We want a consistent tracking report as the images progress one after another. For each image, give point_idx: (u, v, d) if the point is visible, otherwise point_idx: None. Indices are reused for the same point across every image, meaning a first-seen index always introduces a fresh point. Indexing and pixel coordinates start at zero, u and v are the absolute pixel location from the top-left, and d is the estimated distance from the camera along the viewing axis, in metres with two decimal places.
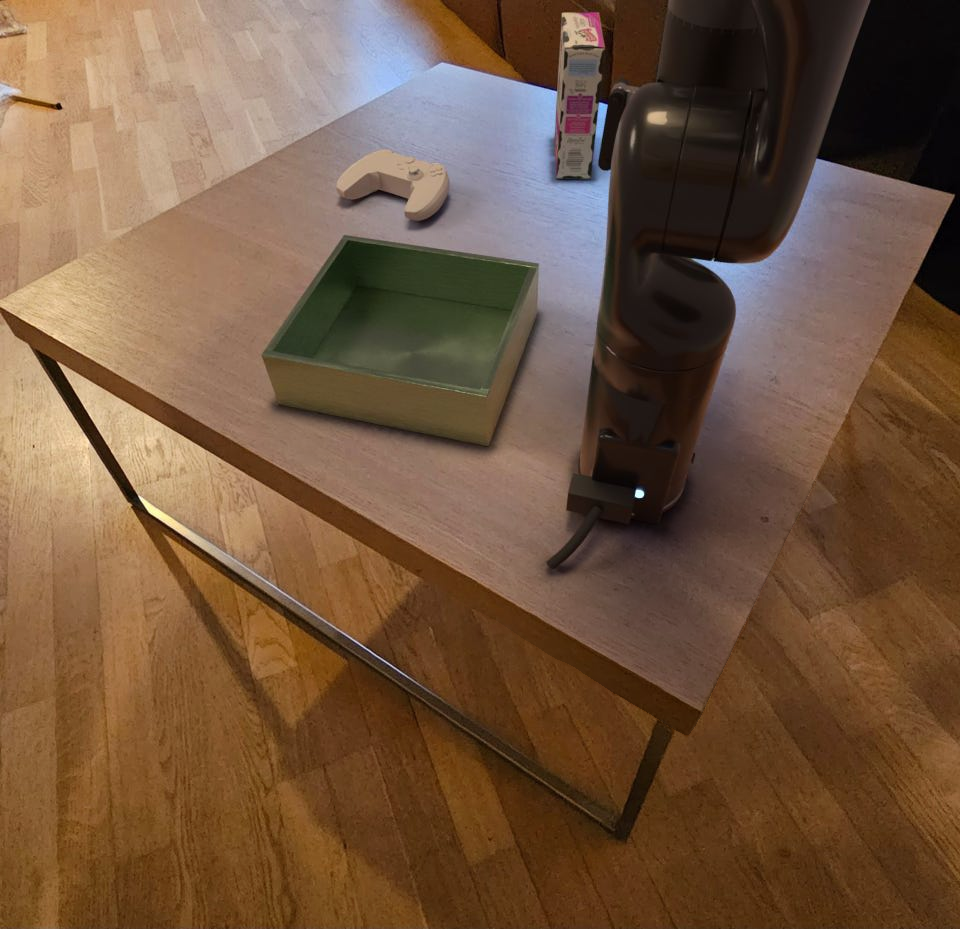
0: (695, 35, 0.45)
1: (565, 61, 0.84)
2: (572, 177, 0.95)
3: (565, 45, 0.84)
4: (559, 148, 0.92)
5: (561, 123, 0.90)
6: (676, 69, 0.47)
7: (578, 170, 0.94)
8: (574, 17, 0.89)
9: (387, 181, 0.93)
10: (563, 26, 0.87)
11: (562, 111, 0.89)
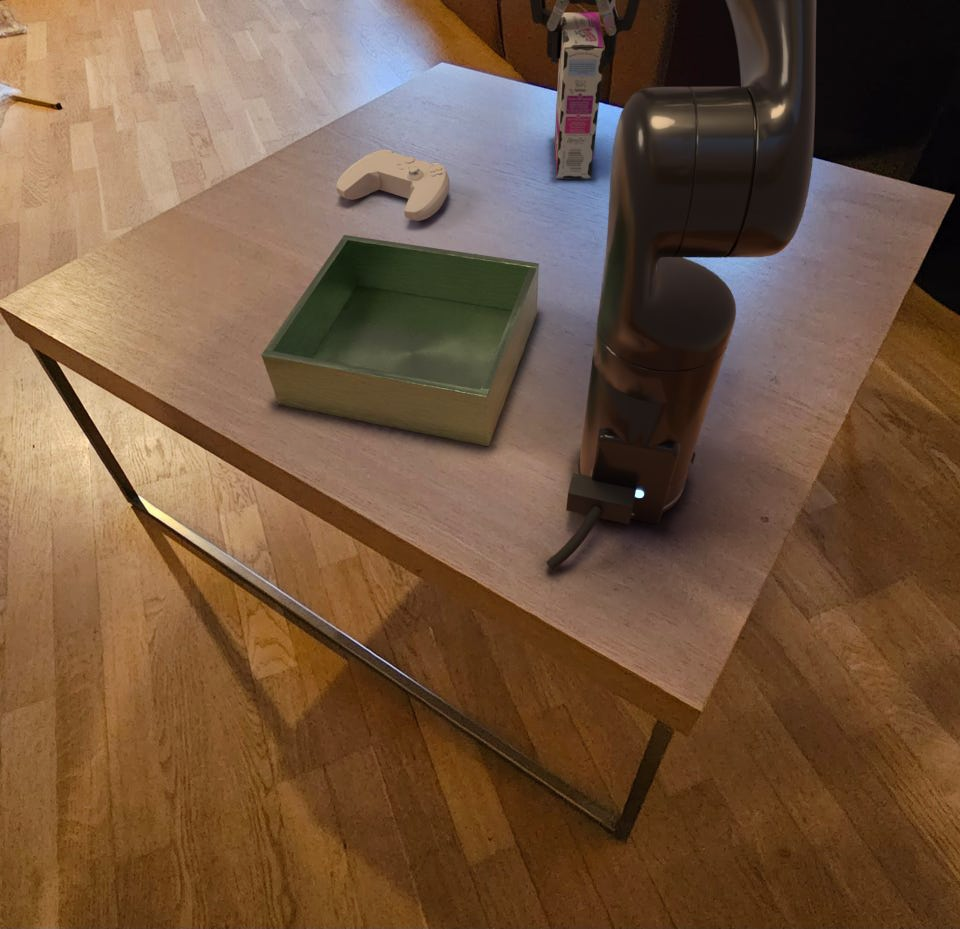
0: None
1: (565, 61, 0.84)
2: (572, 177, 0.95)
3: (565, 45, 0.84)
4: (559, 148, 0.92)
5: (561, 123, 0.90)
6: None
7: (578, 170, 0.94)
8: (574, 17, 0.89)
9: (387, 181, 0.93)
10: (563, 26, 0.87)
11: (562, 111, 0.89)
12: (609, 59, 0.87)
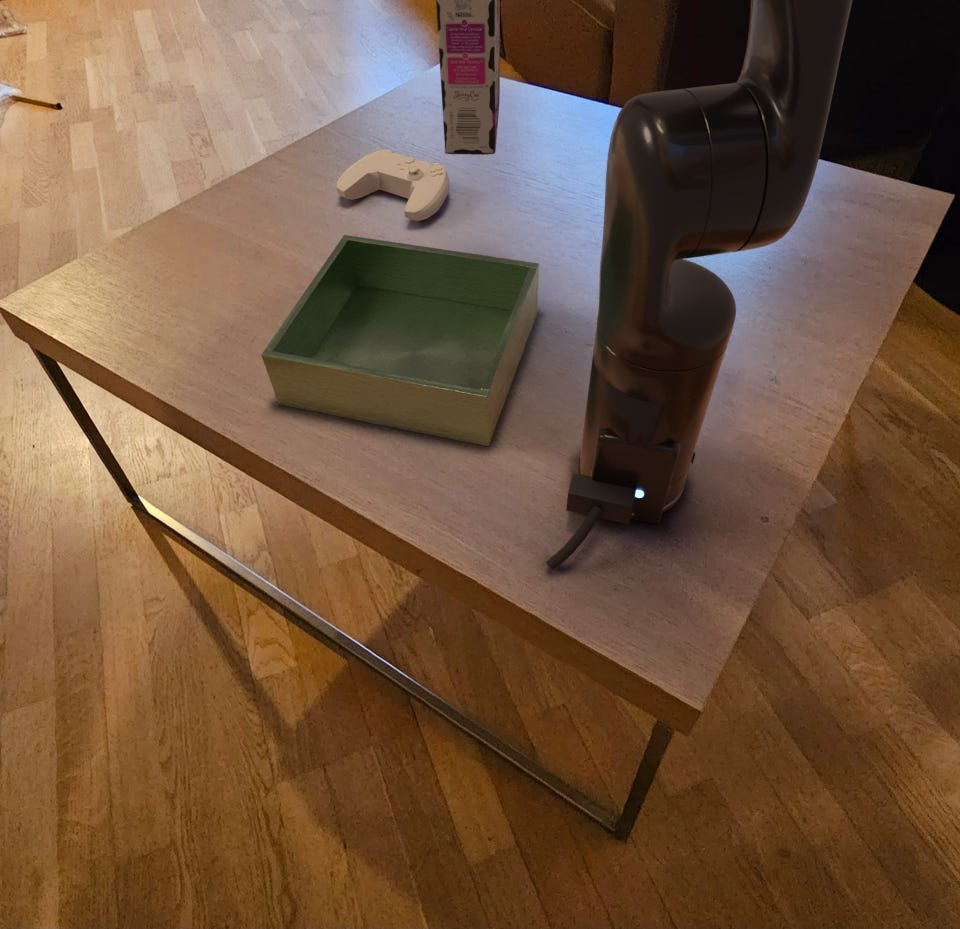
0: None
1: None
2: (468, 152, 0.66)
3: None
4: (443, 107, 0.63)
5: (442, 68, 0.60)
6: None
7: (474, 140, 0.65)
8: None
9: (387, 181, 0.93)
10: None
11: (441, 49, 0.59)
12: None
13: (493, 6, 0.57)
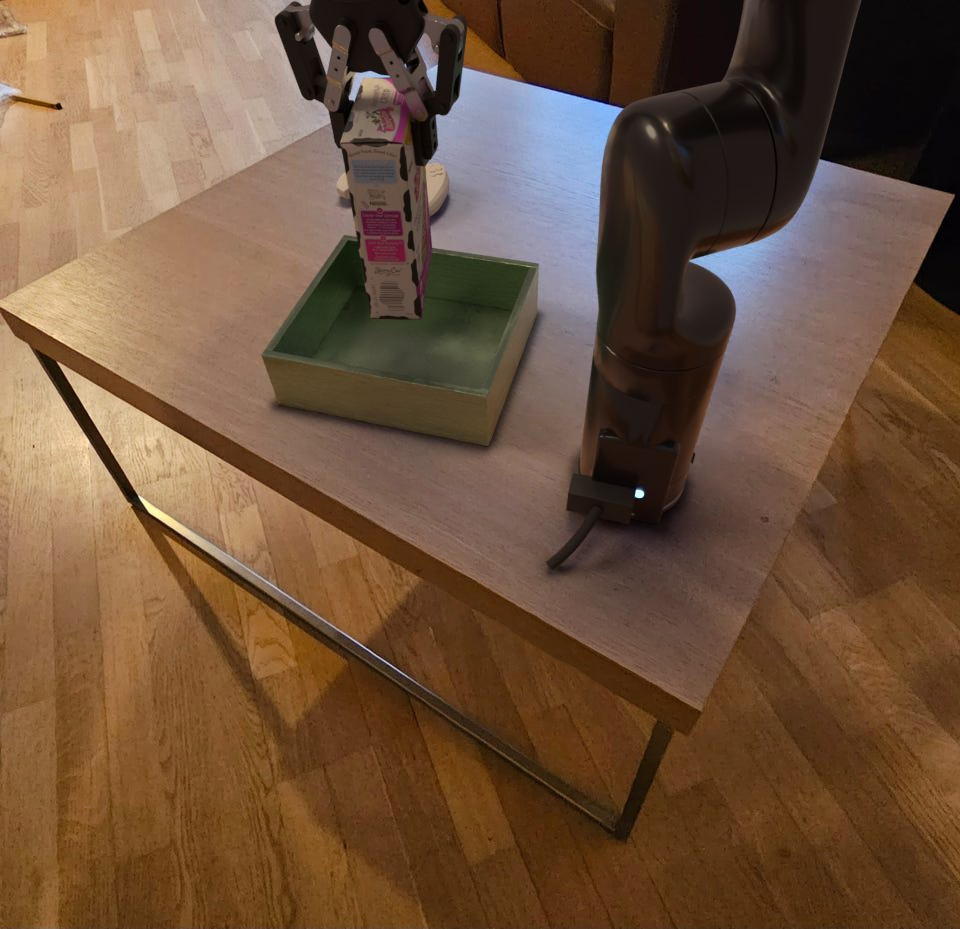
0: None
1: (345, 162, 0.53)
2: (393, 317, 0.64)
3: (342, 138, 0.52)
4: (365, 280, 0.61)
5: (360, 248, 0.59)
6: None
7: (399, 308, 0.63)
8: (376, 86, 0.57)
9: None
10: (354, 102, 0.56)
11: (358, 232, 0.57)
12: (427, 154, 0.56)
13: (408, 196, 0.55)
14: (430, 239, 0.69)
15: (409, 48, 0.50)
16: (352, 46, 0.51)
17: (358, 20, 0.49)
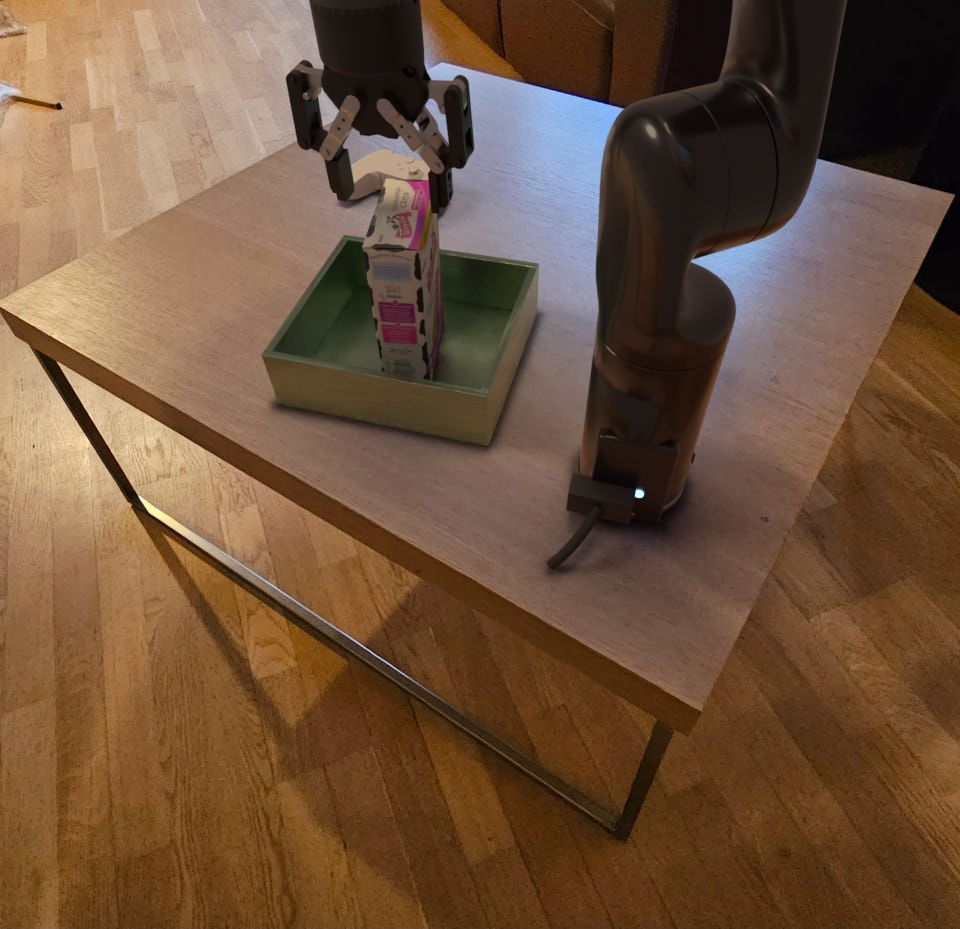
0: (323, 15, 0.48)
1: (366, 263, 0.60)
2: None
3: (364, 243, 0.59)
4: (380, 357, 0.68)
5: (377, 331, 0.65)
6: (322, 49, 0.50)
7: None
8: (398, 189, 0.64)
9: None
10: (377, 204, 0.63)
11: (375, 318, 0.64)
12: (442, 203, 0.59)
13: (421, 292, 0.62)
14: (442, 314, 0.75)
15: (414, 115, 0.54)
16: (361, 113, 0.55)
17: (367, 90, 0.53)
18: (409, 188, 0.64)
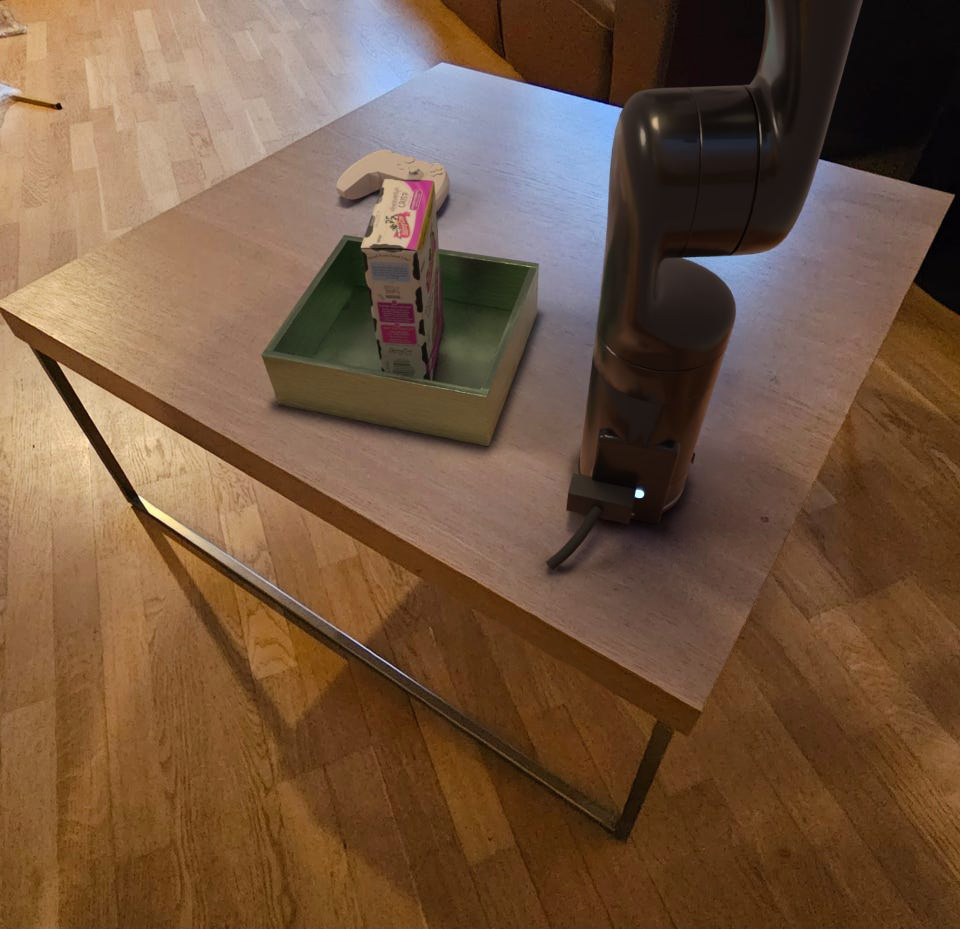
0: None
1: (365, 263, 0.60)
2: None
3: (363, 243, 0.59)
4: (380, 357, 0.68)
5: (376, 331, 0.65)
6: None
7: None
8: (396, 189, 0.64)
9: None
10: (375, 205, 0.63)
11: (374, 318, 0.64)
12: None
13: (419, 292, 0.62)
14: (442, 314, 0.75)
15: None
16: None
17: None
18: (407, 188, 0.64)
